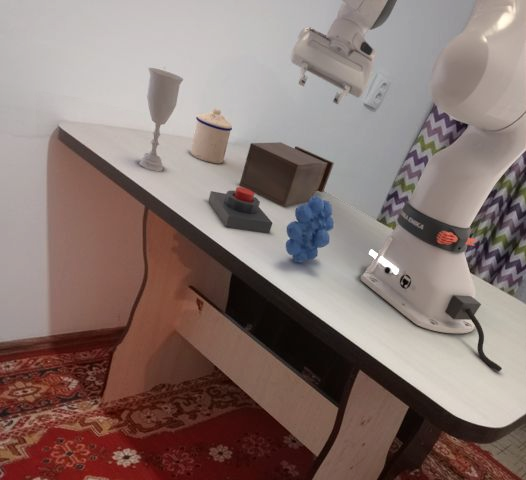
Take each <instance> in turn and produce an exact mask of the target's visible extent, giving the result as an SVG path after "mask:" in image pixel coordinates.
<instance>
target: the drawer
mask: <svg viewBox="0 0 526 480" xmlns="http://www.w3.org/2000/svg"><path fill="white" fill-rule="evenodd" d="M293 148H294V149H297V150H299V151H301V152H303V153H305V154H308V155H310V156H312V157H314V158H317V159H319V160H321V161H323V162H324V164H323V166H322V169H321V172H320V175H319V177H318V180H317V183H316V186H315V188H314V191H313V193H315V192H319V193H324V192H325V188H326V186H327V184H328V181H329V178H330V175H331V172H332V169H333V167H334V165H335V163H334V161H331V160H328V159H327V158H324V157H322V156H320V155H318V154H316V153H313V152H312V151H309V150H306V149H304V148H301V147H299V146H294V147H293Z"/></svg>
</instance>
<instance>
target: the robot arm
mask: <svg viewBox="0 0 526 480" xmlns="http://www.w3.org/2000/svg"><path fill="white" fill-rule="evenodd" d="M341 1H342V3H341V4H340V7H338V8H339V9H338V11H337V15H336V18H335V19H334V20H333V21H332V23H331V25H330V27H329V29H328V31H327V33H326V34H324V33H322V32H320V31H317V30H315V29H314V28H312V27H304V28H302V29H301V31H300V32H299V34H298V37H297V39H298V40H297V41H296V43H295V44H294V45H293V48H292V50H291V54H290V60H291V63H292V64H294V65H295V66H298V67H299V68H300V69H299V75H300V78H299V81H298V85H300V86H302V87H305V85H306V83H307V81H308V78H309V77H308V76H307V75H306V72H308V73H310V74H312V75H314V76H316V77H318V78H320V79H322V80H324V81H326V82H327V83H329V84H331V85H333V86H334V87H337V88H339V89H340V90H342V92H340V93H339V92H336V93H335V96H334V98H333V99H332V103H333V104H336V105H339V104H340V102H341V100H342V99H344V98H346V97H347V96H348V95H352V96H353V97H356V98H358V99H359V98H361V97H363V96H364V94H365V92H366V90H367V88H368V86H369V83H370V81H371V78H372V74H373V71H374V65H373V63H374V61H375V59H376V56H377V51H376V50H375V48H373V47H372V46H371V45H370V44H369V42H368V41H366V39H365V35H366V34H367V33H368V32H369V31H372V30H374V29H377V28H379V27H381V26H382V25H384V24H385V22H387V20H388V19H389V17H390V15H391V14H392V11H394V8H395V5H396V3H397V1H398V0H341ZM475 1H476V2H475V5H474V8H473V11H472V13H471V17H469V20H468V22H467V24H466V25H465V27H464V29H463V30H462V32H460V33H459V34H458V35H456V36H454V37H453V38H452V39H451V40H449V42H447V44H445V46H444V47H443V48H442V50H441V51H440V52H439V54H438V55H437V57H436V59H435V61H434V63H433V65H432V68H431V71H430V76H429V81H428V91H429V95H430V100H431V101H432V102H433V103H434V105H436V106H437V108H438V109H440V110H441V111H442V112H444V113H445V114H447V116H449V117H450V118H452V119H453V120H455V121H458V122H460V123H463V124H467V127H466V129H465V130H464V131H463V132H462V134H461V135H460V136H459V137H457V139H456V140H455V141H454V142H453V143H451V144H450V145H448V146H447V147H446V148H443V149H441V150H439V151H437V152H436V153H434V154H433V155H432V156H431V157H430V158H429V159H428V161H427V162H426V165H425V167H424V169H423V170H422V173H421V175H420V177H419V180H418V181H417V184H416V185H415V188H414V190H413V192H412V194H411V196H410V198H409V199H408V200H407V201H405V203H404V205H403V206H402V208H401V209H400V211H399V215H398V217H397V219H396V220H397V223H396V225H395V227H394V229H393V231H392V232H391V233H390V234H389V236H388V237H387V238H386V239H385V241H384V243H383V244H382V246H381V248H380V250H378V252H376V251H374V250H373V249H370V250H369V252H368V255H370V256H371V257H373V260H372V262H370V263H369V265H368V267H366V269H365V271H364V273H362V275H361V277H360V281H361V282H362V283H364V284H365V285H366V286H367V287H369V288H370V289H371V290H372V291H373V292H374V293H376V294H377V295H378V296H379V297H381V298H382V299H384V300H385V301H386V302H387V303H389V304H390V305H391V306H392V307H393V308H395V309H396V310H397V311H398V312H400V313H401V314H402V315H403V316H405V317H406V318H407V319H408V320H410V321H411V322H412V323H414V324H415V325H416V326H418V327H420V328H424V329H425V330H429V331H434V332H439V333H446V334H467V333H471V332H473V331H474V330H475V329H476V331H477V335H478V342H477V347H476V348H477V349H476V350H477V353H478V356H479V358H480V359H481V360H482V361H483V362H484V363H485V364H486V365H488V366H489V367H490V368H492V369H494V370H495V371H496V372H499V373H500V372H501V370H502V369H503V368H502V367H501V366H500V365H499V364H497V363H496V362H495V361H493V360H491V359H490V358H489V357H488V356H487V355H486V354H485V352H484V343H485V342H484V341H485V334H484V330H483V327H482V325H481V323H480V321H479V319H478V318H477V317H476V316H475V315H476V313H477V311H478V310H479V308H480V307H481V305H482V303H481V302H479V301H478V300H477V299H475V297H476V293H477V292H476V287H475V283H474V282H473V277H472V275H471V272H470V269H469V265H468V261H467V258H466V255H465V252H466V251H467V249H468V246H472V247H473V246H476V245H475V244H474V243H475V242H478V239H477V238H471V237H470V235H471V230H472V229H471V226H472V224H473V222H474V220H475V218H476V217H477V215H478V213H479V212H480V210H481V208H482V206H483V205H484V203H485V202H486V200H487V199H488V197H489V195H490V194H491V192H492V190H493V189H494V187H495V186H496V184H497V183H498V181H499V180H500V179H501V178H502V176H503V175H504V174H505V173H506V172H507V171H508V170H509V168H510V167H512V165H513V164H514V163H515V162H516V161H517V160H518V159H519V158H520V157H521V156H522V155H523V154H524V153H525V152H526V0H475Z"/></svg>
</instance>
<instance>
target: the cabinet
mask: <svg viewBox="0 0 526 480" xmlns="http://www.w3.org/2000/svg"><path fill="white" fill-rule="evenodd" d="M294 148H295V147H292V146H290V145H287V144H286V143H283V142H281V141H280V142H279V141H278V142H250V144H249V148H248V152H247V155H246V160H245V163H244V167H243V170H242V174H241V179H240V182H239V187H243V188H247V189H249V190H251V191H253V192H254V194H257V195H258V196H261V197H263V198H265V199H267V200H269V201H271V202H273V203H274V204H277V205H278V206H281V207H283V208H286V207H287V208H288V207H290V206H294V205H298V204H301V203H305V202H308V200H309V199H310V198H312V197H313V194H314V192H313V191H314V188H315V186H316V183H317V180H318V177H319V175H320V172H321V169H322V166H323V164H324V162H323V161H321V160H319V159H317V158H314V157H312V156H310V155H308V154H305V153H303V152H301V151H299V150H297V149H294Z"/></svg>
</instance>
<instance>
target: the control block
mask: <svg viewBox="0 0 526 480" xmlns="http://www.w3.org/2000/svg"><path fill="white" fill-rule="evenodd" d="M235 191H236V190H227V192H226V193H224V192H219V191H213V190H210V193H209V197H208V203H209V205H210V206H211V208H212V209H213V211H214V212H215V213H216V215H217V217H218V218H219V219H220V221H221V222H222V224H223V225H224V227H225V228H229V229H236V230H243V231H251V232H257V233H264V234H270V232H271V229H272V226H273V222H272V220H271V219H270V218H269V217H268V216H267V214H266V213H265V212H264V211H263V209H261V208H260V205H261V201H260V200H259V199H258V197H255V196H254V197H253V200H252V202H246V201H242V200H239V199H237V198H236V197H234V194H235Z"/></svg>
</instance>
